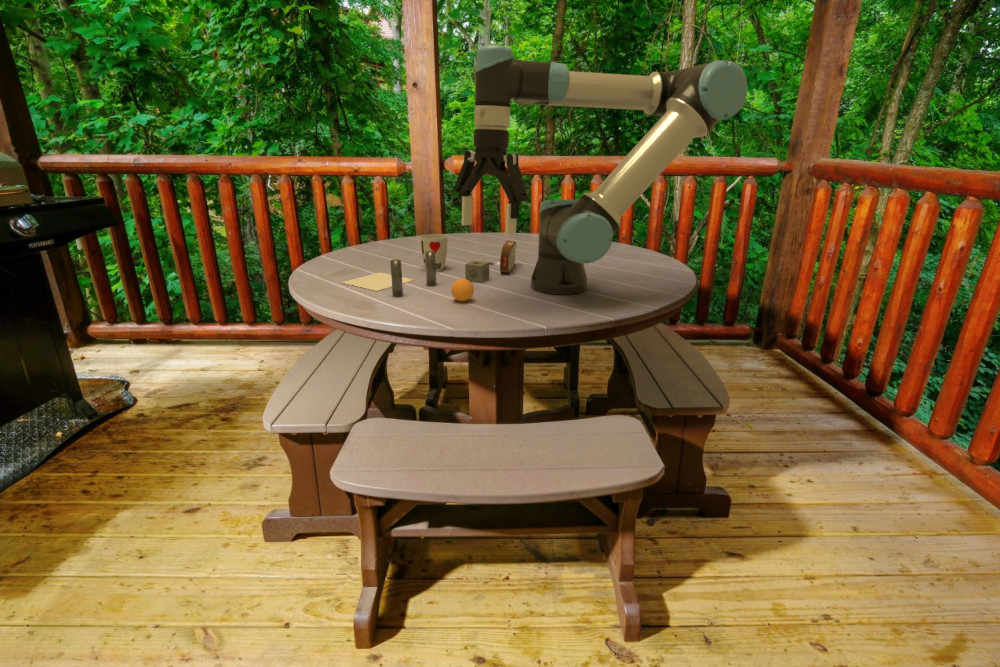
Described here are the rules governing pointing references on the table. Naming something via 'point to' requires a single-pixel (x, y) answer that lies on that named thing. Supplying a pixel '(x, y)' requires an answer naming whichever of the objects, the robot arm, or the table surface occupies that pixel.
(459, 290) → the ball
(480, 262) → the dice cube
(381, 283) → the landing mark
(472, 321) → the table surface
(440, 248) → the cup
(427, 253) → the right post
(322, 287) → the table surface
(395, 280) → the left post
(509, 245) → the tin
